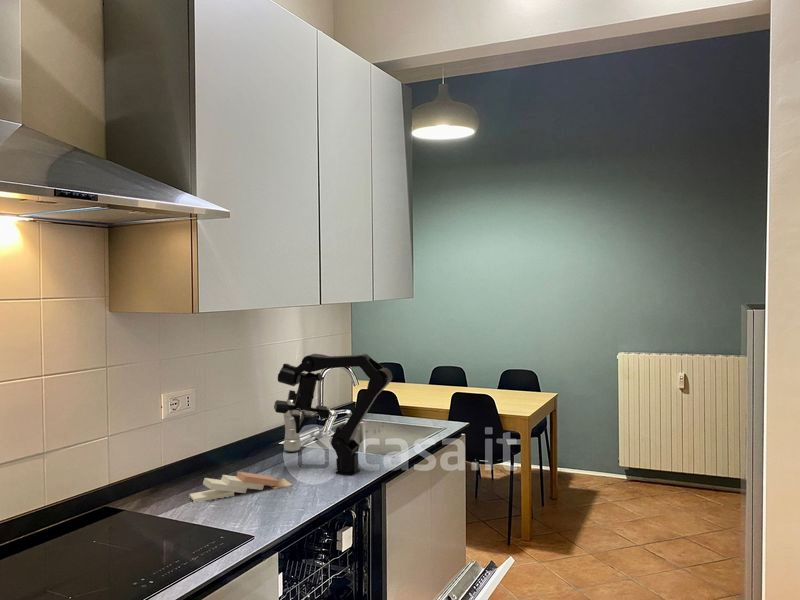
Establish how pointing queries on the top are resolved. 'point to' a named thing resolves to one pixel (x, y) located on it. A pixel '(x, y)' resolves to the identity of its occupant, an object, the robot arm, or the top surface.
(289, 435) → the plastic bottle
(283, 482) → the birch pad
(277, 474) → the top surface
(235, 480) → the ivory domino
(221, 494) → the ivory domino
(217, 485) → the ivory domino
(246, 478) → the terracotta domino
